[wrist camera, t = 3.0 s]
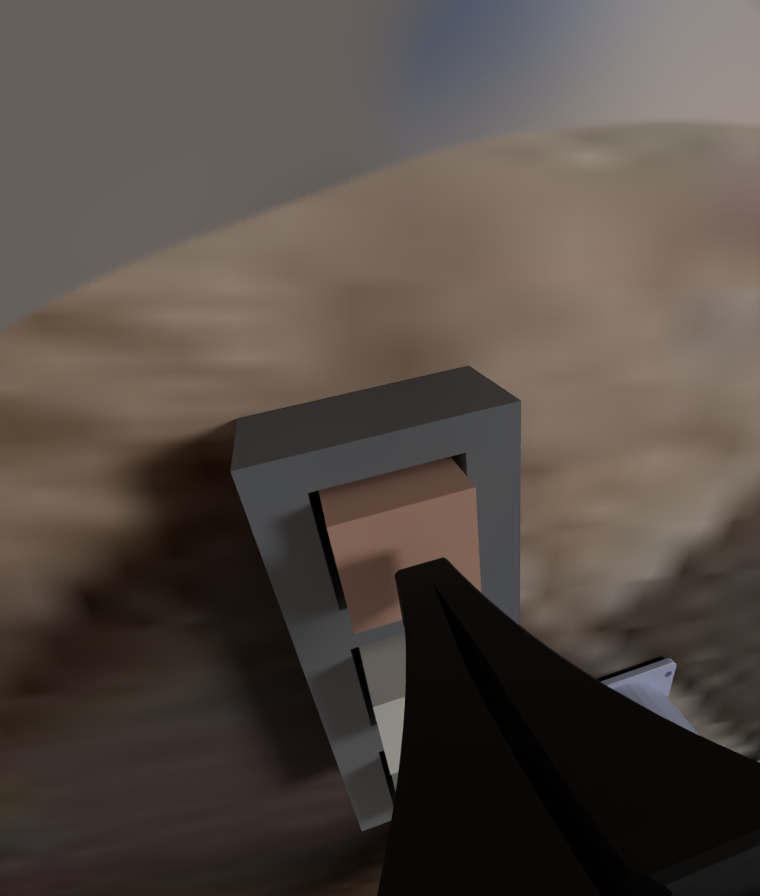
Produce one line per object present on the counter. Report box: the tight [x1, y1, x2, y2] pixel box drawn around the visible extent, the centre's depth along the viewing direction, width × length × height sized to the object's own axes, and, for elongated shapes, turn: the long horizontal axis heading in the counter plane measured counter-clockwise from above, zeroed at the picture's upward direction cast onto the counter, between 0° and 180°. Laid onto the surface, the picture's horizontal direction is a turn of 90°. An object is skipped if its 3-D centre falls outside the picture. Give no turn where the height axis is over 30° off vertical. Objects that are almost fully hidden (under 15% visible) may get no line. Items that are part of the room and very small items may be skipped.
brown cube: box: [319, 457, 481, 634], centre depth 14 cm, size 4×4×4 cm
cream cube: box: [359, 633, 406, 774], centre depth 16 cm, size 4×4×4 cm
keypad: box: [230, 366, 521, 831], centre depth 18 cm, size 20×8×4 cm, turn 9°
